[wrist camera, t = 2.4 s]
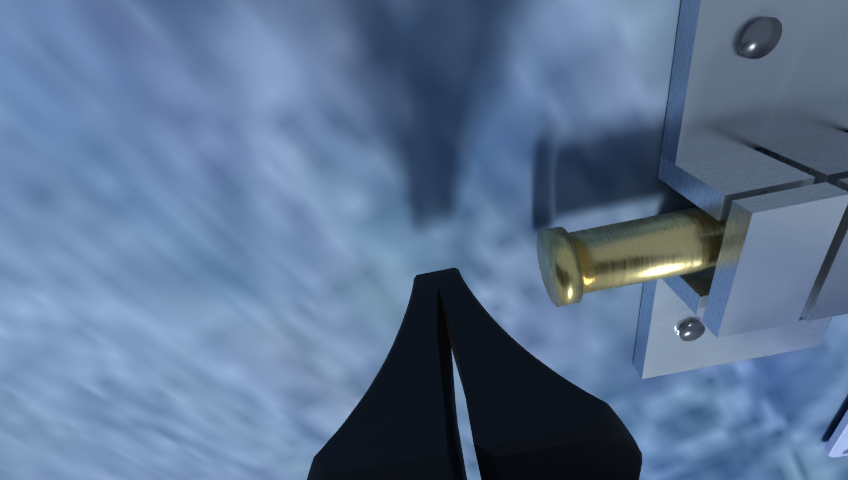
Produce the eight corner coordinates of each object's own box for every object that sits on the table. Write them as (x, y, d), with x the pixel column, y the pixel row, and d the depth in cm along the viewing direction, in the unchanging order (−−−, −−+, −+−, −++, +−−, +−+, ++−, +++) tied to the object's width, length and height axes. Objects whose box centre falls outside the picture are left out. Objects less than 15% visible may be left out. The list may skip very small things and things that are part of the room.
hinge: (1011, -141, 10) (1333, -205, 7) (802, 333, 19) (894, 410, 15) (690, -69, 10) (841, -96, 7) (633, 364, 19) (685, 447, 16)
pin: (804, 162, 13) (883, 196, 11) (782, 227, 15) (849, 268, 12) (535, 216, 14) (562, 259, 11) (538, 275, 15) (562, 323, 13)
